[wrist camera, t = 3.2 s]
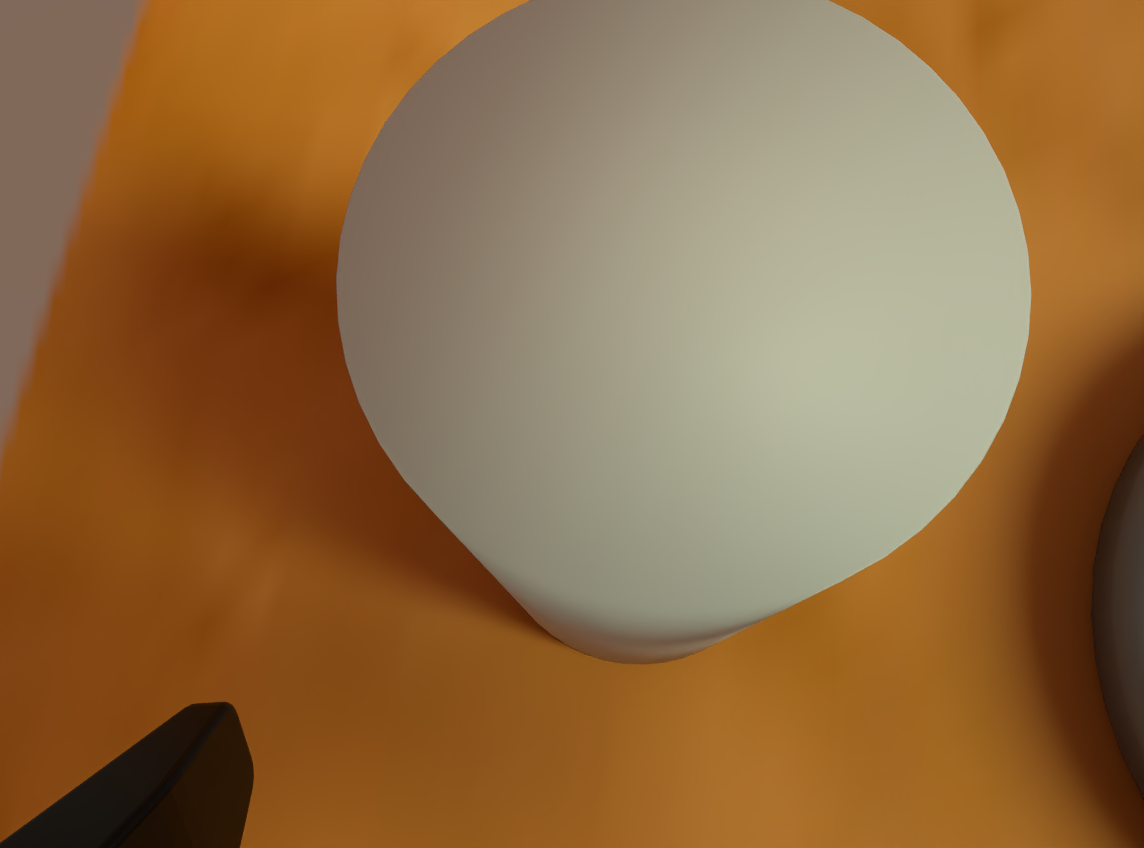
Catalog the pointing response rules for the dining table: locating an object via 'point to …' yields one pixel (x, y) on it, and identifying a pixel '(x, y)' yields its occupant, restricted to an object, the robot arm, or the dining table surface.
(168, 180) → the dining table surface
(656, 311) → the white post
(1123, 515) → the slate plinth
